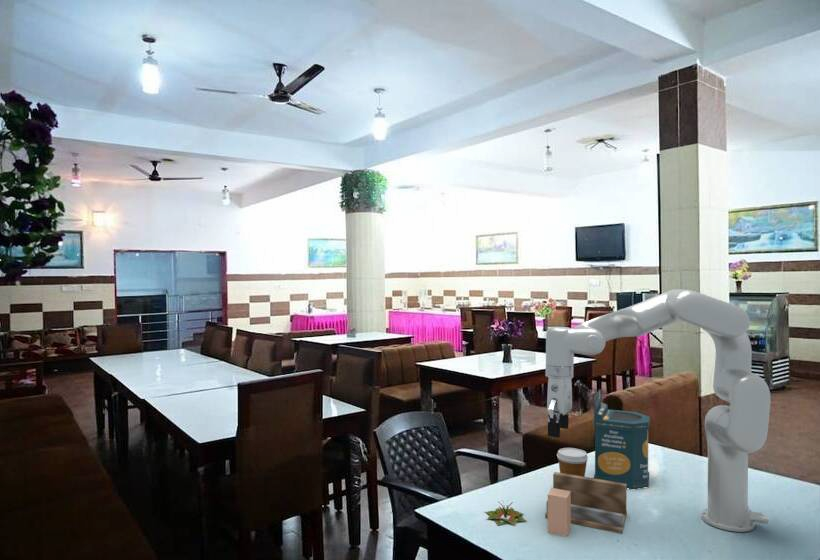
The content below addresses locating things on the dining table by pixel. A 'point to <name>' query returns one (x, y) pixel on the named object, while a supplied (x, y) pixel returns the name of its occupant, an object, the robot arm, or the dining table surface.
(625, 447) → the donation box
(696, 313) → the robot arm
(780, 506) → the dining table surface
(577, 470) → the disposable coffee cup
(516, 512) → the lily flower
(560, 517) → the terracotta block
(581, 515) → the cleat board
